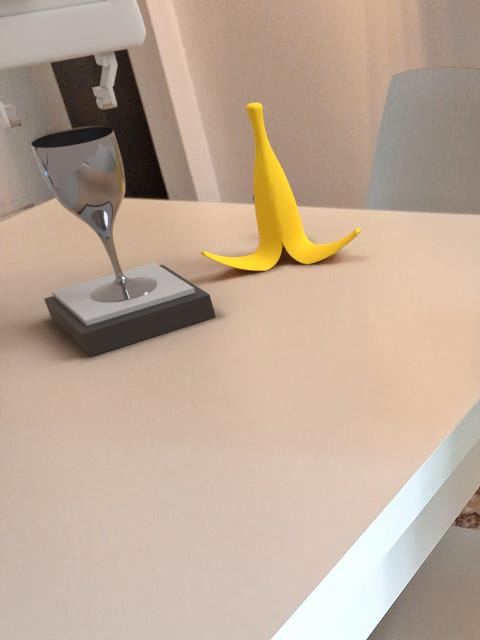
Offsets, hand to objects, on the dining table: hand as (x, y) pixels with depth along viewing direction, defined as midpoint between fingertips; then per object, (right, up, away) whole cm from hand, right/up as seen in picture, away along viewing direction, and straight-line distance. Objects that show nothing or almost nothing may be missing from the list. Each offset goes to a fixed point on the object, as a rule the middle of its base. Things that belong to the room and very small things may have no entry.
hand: (61, 117), depth 89 cm
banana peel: (+19, -4, +24) cm, 31 cm away
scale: (+2, -15, +13) cm, 20 cm away
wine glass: (+2, -13, +11) cm, 17 cm away
